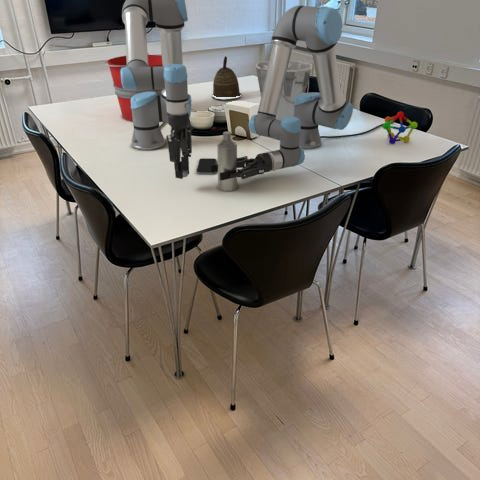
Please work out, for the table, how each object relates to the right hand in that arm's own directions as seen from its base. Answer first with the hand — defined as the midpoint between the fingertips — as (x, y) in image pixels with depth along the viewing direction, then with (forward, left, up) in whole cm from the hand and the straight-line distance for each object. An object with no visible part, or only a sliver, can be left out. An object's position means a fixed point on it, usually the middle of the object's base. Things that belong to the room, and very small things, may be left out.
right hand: (215, 173), depth 163 cm
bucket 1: (-52, -92, -7) cm, 106 cm away
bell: (-110, -79, -7) cm, 136 cm away
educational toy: (-91, +37, -7) cm, 99 cm away
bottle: (-4, +2, -7) cm, 8 cm away
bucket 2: (-92, -28, -7) cm, 97 cm away
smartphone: (-15, -17, -7) cm, 23 cm away
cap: (+6, -11, 0) cm, 12 cm away
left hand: (+6, -11, -2) cm, 13 cm away
